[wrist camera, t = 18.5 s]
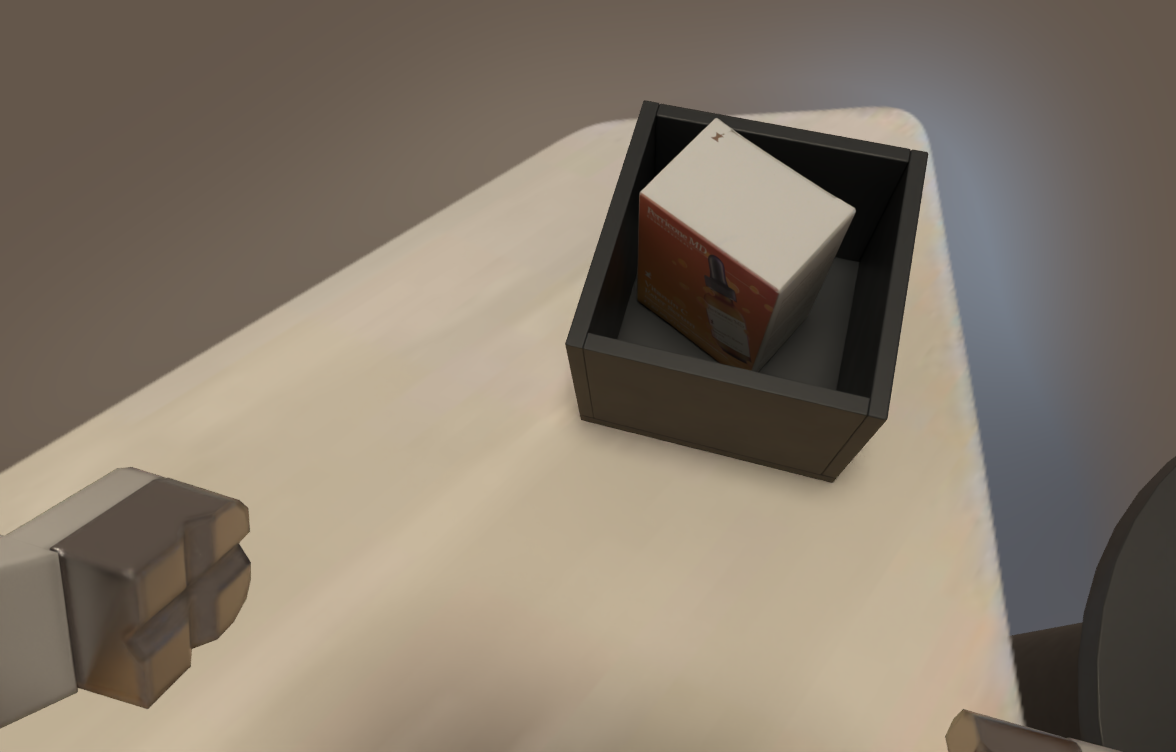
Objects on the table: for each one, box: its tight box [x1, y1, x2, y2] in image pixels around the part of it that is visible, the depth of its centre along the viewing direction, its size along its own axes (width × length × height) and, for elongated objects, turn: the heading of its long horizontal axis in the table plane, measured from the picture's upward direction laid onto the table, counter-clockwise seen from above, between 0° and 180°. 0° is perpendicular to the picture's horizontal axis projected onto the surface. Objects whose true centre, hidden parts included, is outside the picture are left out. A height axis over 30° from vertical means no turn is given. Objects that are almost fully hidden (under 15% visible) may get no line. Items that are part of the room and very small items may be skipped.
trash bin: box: [565, 101, 928, 482], centre depth 40 cm, size 14×14×10 cm
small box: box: [637, 118, 856, 372], centre depth 39 cm, size 8×6×10 cm
